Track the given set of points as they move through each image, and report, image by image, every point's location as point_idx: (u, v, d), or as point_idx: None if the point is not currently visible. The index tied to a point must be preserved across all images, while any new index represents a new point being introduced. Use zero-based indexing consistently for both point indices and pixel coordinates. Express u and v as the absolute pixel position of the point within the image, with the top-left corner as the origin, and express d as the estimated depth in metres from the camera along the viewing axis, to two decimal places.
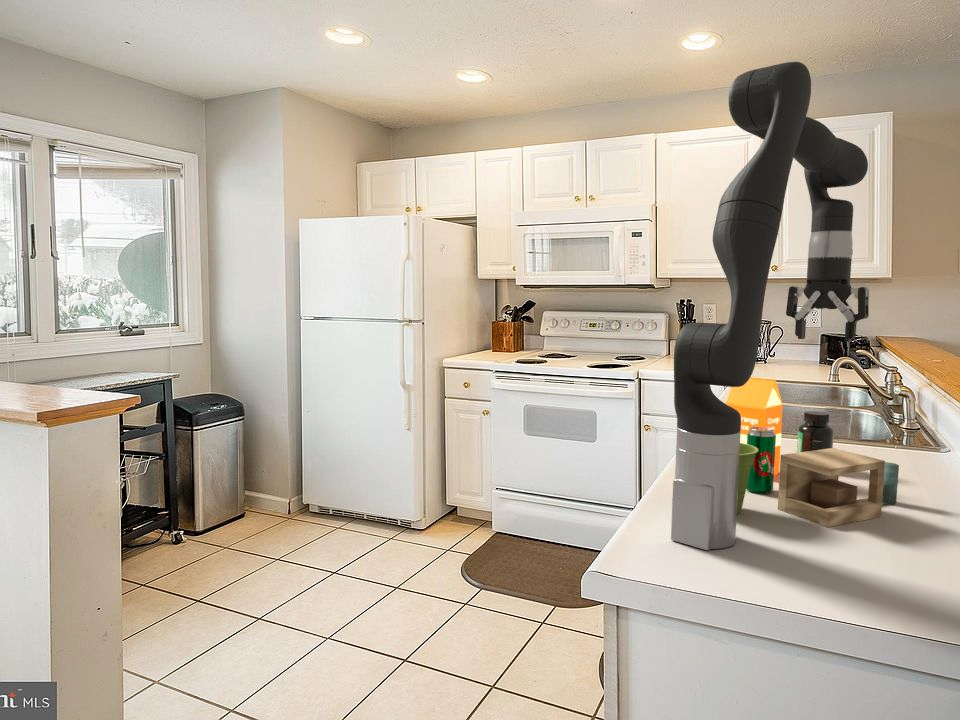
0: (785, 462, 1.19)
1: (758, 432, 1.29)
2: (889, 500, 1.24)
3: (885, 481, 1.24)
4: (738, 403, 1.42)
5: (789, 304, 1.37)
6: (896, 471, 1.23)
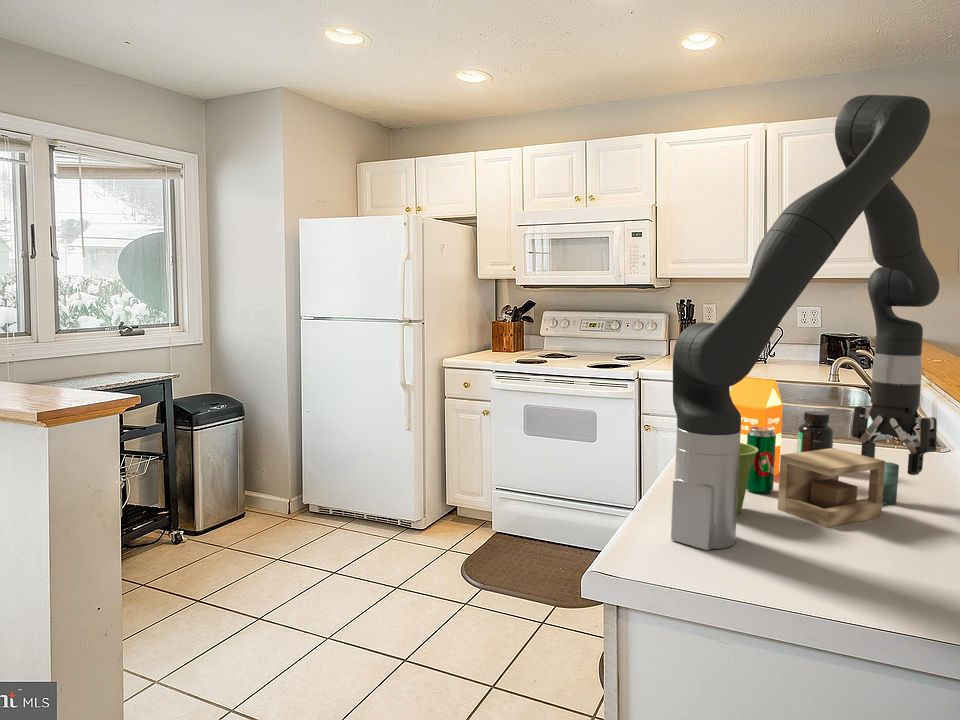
0: (785, 462, 1.19)
1: (758, 432, 1.29)
2: (889, 500, 1.24)
3: (885, 481, 1.24)
4: (738, 403, 1.42)
5: None
6: (896, 471, 1.23)
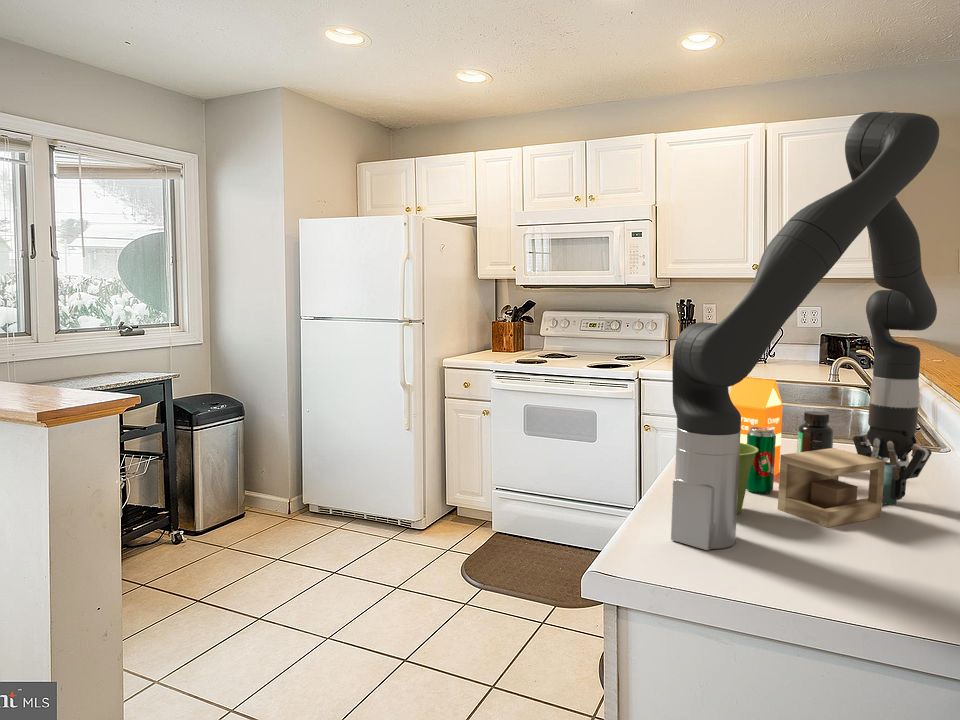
0: (785, 462, 1.19)
1: (758, 432, 1.29)
2: (889, 500, 1.24)
3: (885, 481, 1.24)
4: (738, 403, 1.42)
5: None
6: None
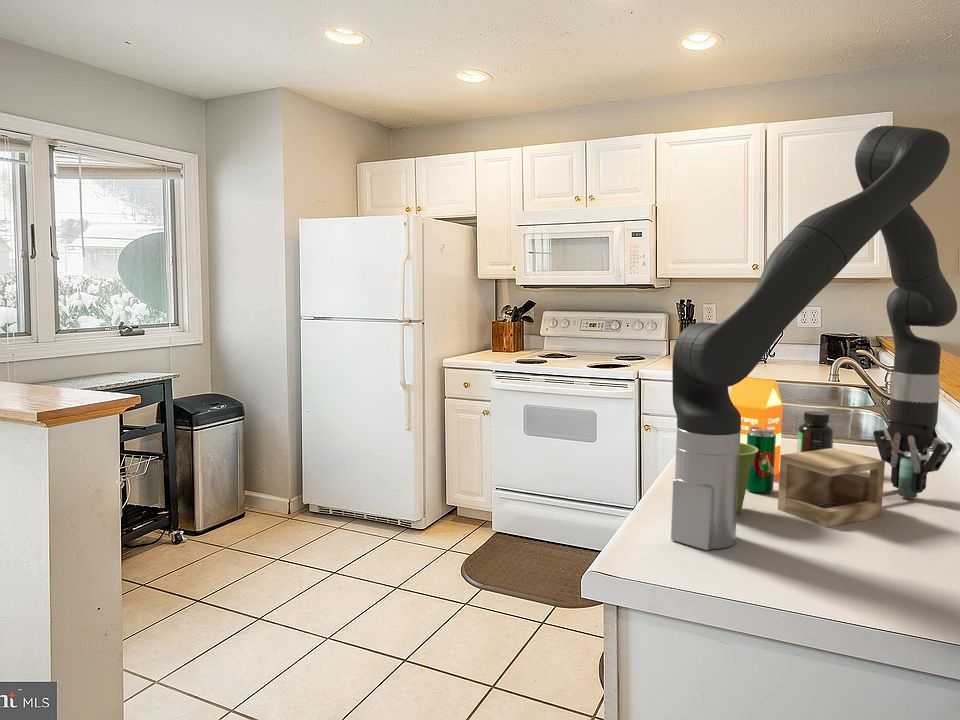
0: (785, 462, 1.19)
1: (758, 432, 1.29)
2: (910, 493, 1.26)
3: (906, 474, 1.26)
4: (738, 403, 1.42)
5: None
6: None
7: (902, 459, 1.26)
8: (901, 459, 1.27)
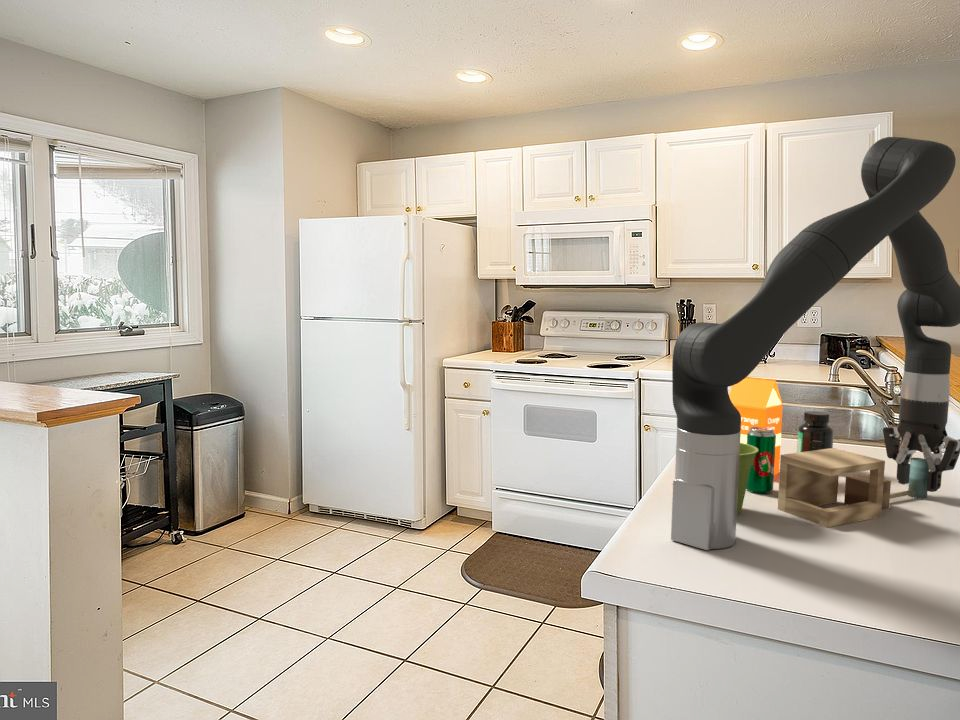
0: (785, 462, 1.19)
1: (758, 432, 1.29)
2: (920, 494, 1.27)
3: (916, 476, 1.27)
4: (738, 403, 1.42)
5: None
6: (927, 466, 1.27)
7: (912, 460, 1.28)
8: (911, 460, 1.28)
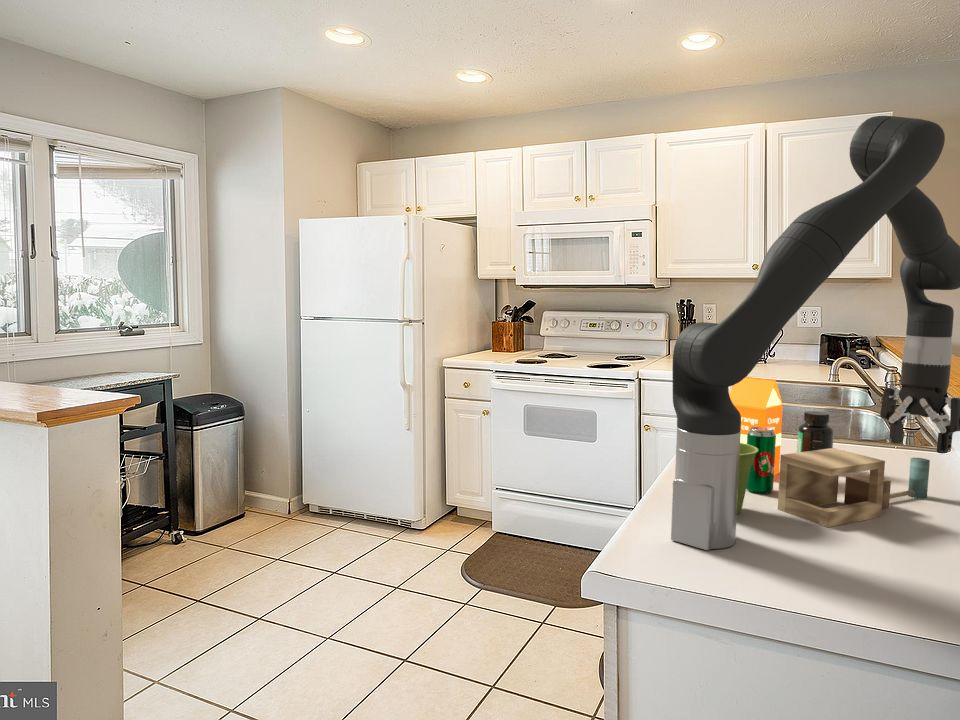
0: (785, 462, 1.19)
1: (758, 432, 1.29)
2: (920, 494, 1.27)
3: (916, 476, 1.27)
4: (738, 403, 1.42)
5: None
6: (927, 466, 1.27)
7: (912, 460, 1.28)
8: (911, 460, 1.28)
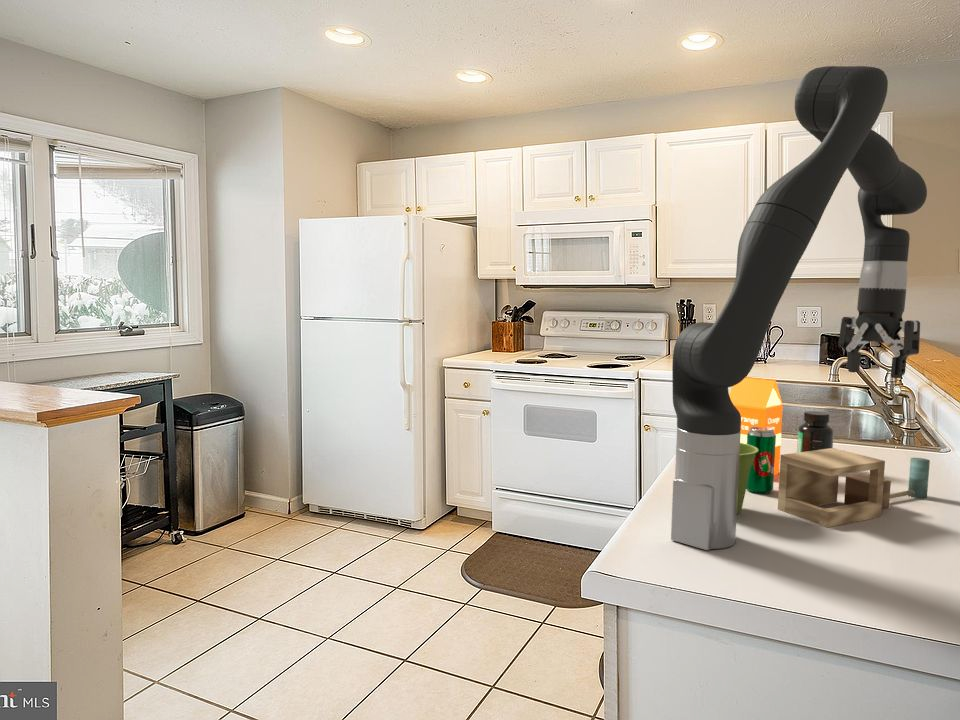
0: (785, 462, 1.19)
1: (758, 432, 1.29)
2: (920, 494, 1.27)
3: (916, 476, 1.27)
4: (738, 403, 1.42)
5: None
6: (927, 466, 1.27)
7: (912, 460, 1.28)
8: (911, 460, 1.28)
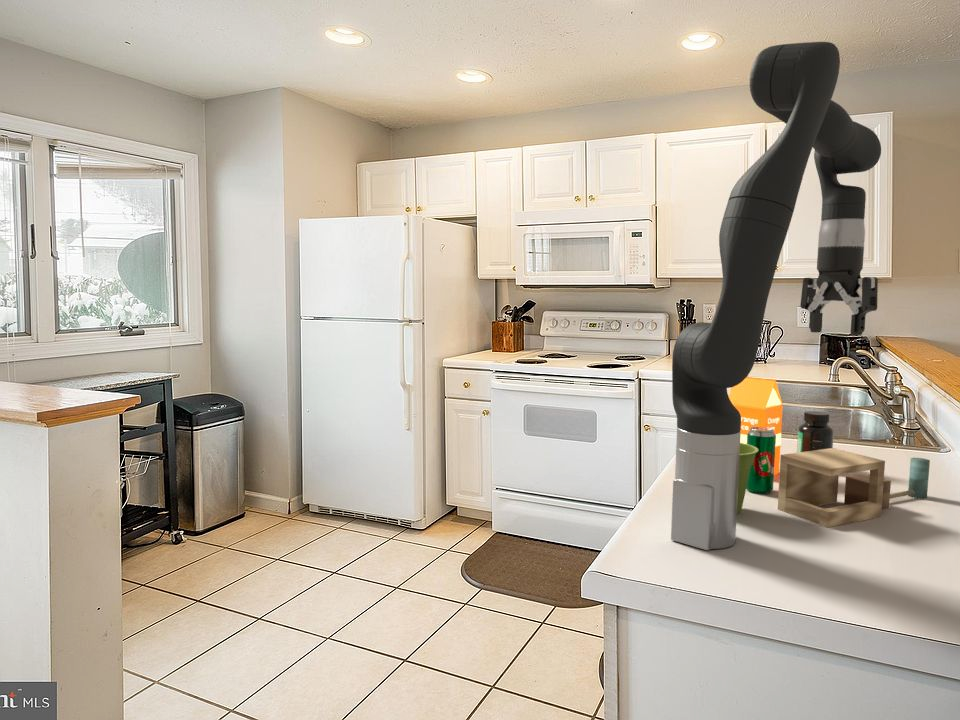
0: (785, 462, 1.19)
1: (758, 432, 1.29)
2: (920, 494, 1.27)
3: (916, 476, 1.27)
4: (738, 403, 1.42)
5: None
6: (927, 466, 1.27)
7: (912, 460, 1.28)
8: (911, 460, 1.28)
